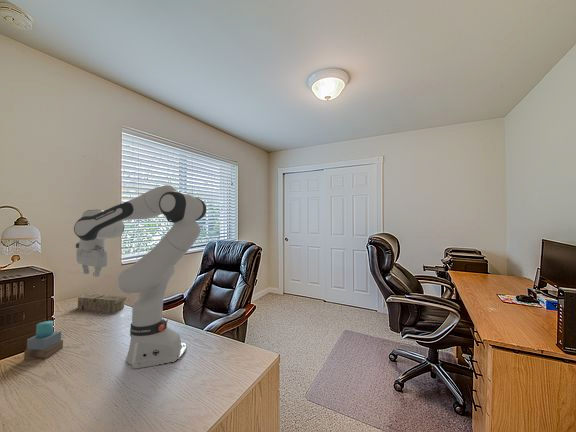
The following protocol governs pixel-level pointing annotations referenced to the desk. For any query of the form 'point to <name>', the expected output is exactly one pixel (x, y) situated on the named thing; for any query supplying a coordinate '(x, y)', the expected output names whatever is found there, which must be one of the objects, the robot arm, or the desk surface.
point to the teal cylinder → (44, 329)
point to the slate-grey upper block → (43, 341)
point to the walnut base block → (43, 352)
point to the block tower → (101, 302)
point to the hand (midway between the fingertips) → (91, 275)
